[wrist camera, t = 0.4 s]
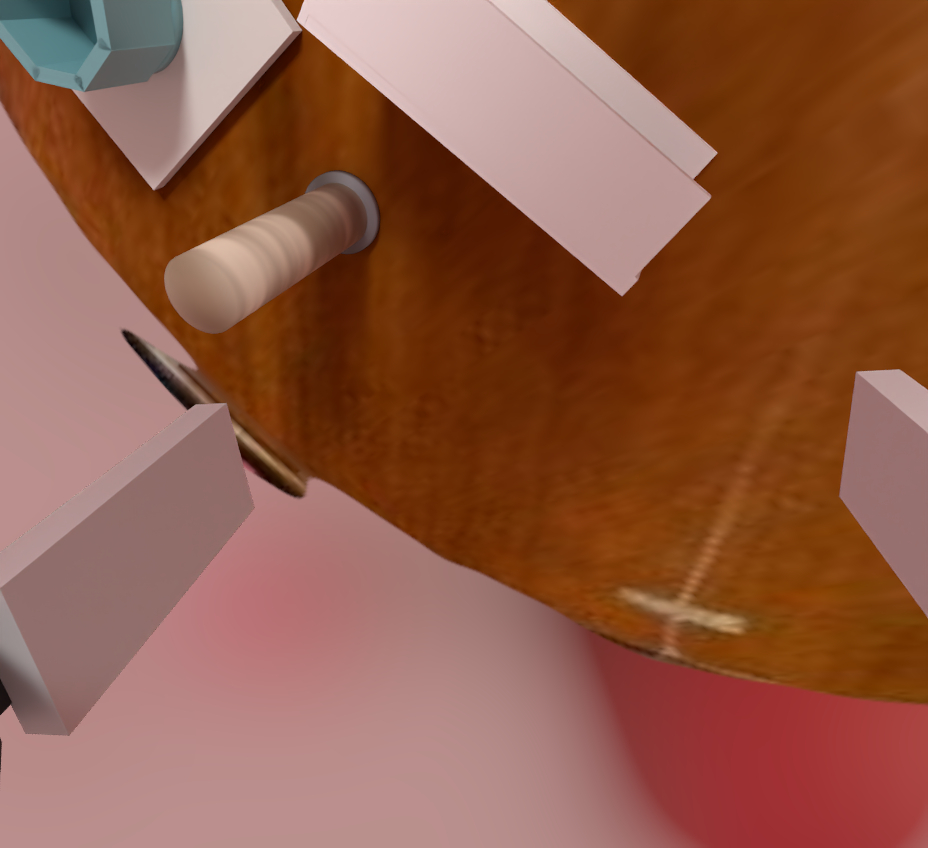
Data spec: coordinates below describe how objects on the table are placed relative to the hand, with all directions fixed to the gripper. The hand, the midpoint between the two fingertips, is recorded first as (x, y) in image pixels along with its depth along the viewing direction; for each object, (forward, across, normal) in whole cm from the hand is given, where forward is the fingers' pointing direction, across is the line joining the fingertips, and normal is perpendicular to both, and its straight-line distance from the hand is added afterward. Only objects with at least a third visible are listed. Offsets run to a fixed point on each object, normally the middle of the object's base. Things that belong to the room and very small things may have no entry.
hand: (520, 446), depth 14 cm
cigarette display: (+27, 0, +9) cm, 29 cm away
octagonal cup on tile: (+31, -24, +16) cm, 43 cm away
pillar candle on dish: (+31, -13, +2) cm, 34 cm away
